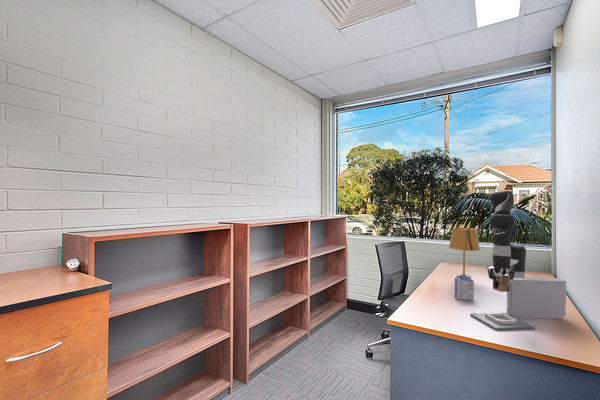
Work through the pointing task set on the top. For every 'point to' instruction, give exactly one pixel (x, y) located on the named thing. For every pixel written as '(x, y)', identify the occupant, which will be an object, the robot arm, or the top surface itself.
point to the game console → (537, 298)
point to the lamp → (464, 243)
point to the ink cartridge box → (464, 288)
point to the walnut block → (503, 284)
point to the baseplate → (502, 321)
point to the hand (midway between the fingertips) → (501, 287)
